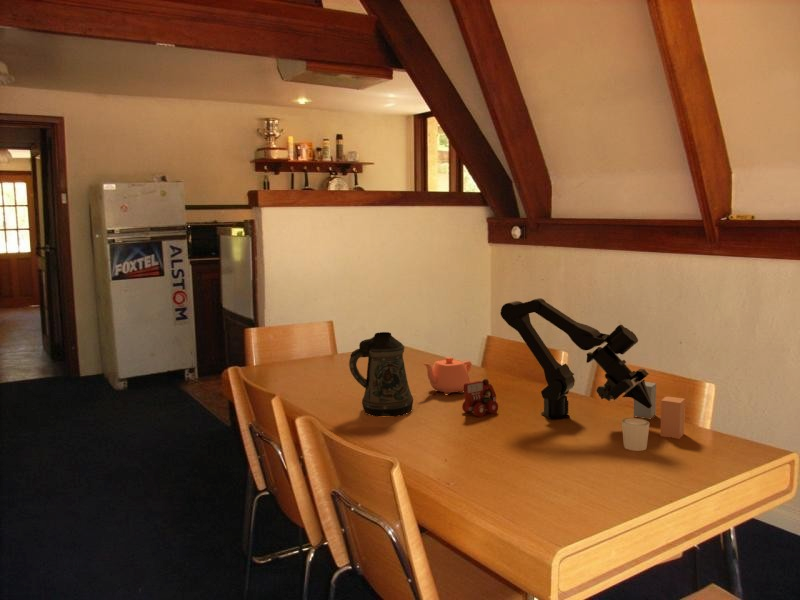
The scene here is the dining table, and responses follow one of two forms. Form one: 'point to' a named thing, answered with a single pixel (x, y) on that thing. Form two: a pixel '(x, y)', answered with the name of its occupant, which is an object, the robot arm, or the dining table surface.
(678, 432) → the terracotta post
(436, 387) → the teapot
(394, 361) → the beer stein
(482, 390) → the toy fire truck
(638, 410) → the slate post
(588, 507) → the dining table surface
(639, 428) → the white cup
